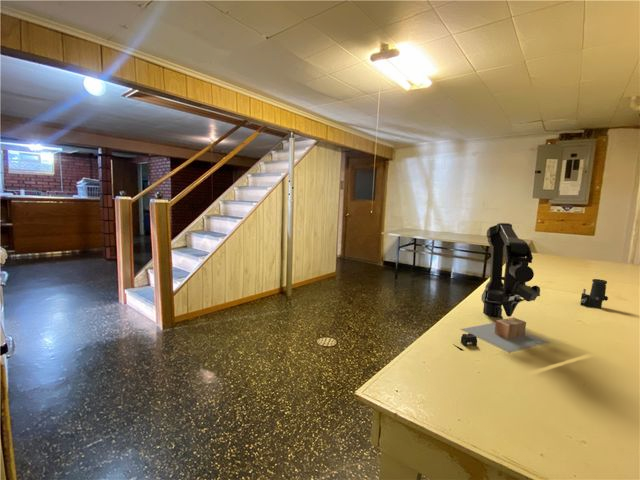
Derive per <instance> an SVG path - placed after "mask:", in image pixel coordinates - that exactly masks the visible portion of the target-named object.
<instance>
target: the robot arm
mask: <svg viewBox="0 0 640 480" xmlns="http://www.w3.org/2000/svg"><path fill="white" fill-rule="evenodd" d="M512 224H513V223H512ZM512 224H511V223H509V222H506V223H505V222H499V223H497V224H496V225H493V226H490V227H489V228H488V229H487V230H486V238H487V243H488V245H489V246H490V248H491V249H490V251H491V253H490V271H489V281H488V282H487V283H486V285H485V289H484V290H483V293H482V294H481V302H482V303H483V312H482V313H483V314H484V315H485V316H488V317H492V318H495V319H499V318H500V319H503V318H504V317H503V314H502V312H503V309H504V313H505V315H506V317H507V318H512V316H513V313H514V311H515V309H516V308H517V306H518V304H520V303H522V302H524V301H526V302H532V301H536V299H537V298H538V297H540V296H541V287H540V286H538V285H532V286H531V285H527V284H526V283H527V282H528V283H529V282H530V281H531V280H533V278H534V276H535V273H534V269H532V268H531V267H530V266H529V264H532V263H533V261H532V260H533V259H534V258H533V255H532V250H531V247H530V245H529V244H528V242H526V240H524V239H521V238H519V237H518V236H517V234H516V232H515V230H514V229H513V225H512ZM504 259H505V267H504V275H503V264H504V263H503V262H504Z"/></svg>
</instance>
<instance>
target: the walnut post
mask: <svg viewBox="0 0 640 480" xmlns="http://www.w3.org/2000/svg"><path fill="white" fill-rule="evenodd" d="M495 322H496V324H495V334H497V335H500V336H502V337H504V338H506V339H508V338H513V337H517V336H521V335H525V332H526V325H527V322H526V321H525V320H522V319H519V318H516V317H507V318H504V319H503V318H501V319H498V320H495Z"/></svg>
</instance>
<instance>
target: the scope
mask: <svg viewBox="0 0 640 480" xmlns="http://www.w3.org/2000/svg"><path fill="white" fill-rule="evenodd" d="M591 283H592V284H591V289H590V293H589V294H586V292H587V291H586V290H587V289H586V288H583V289H582V293H581V297H580V306H582V307H590V308H593V309H599V310H601V309H602V307H603V302H604V301H605V302H607V301H608V300H609V297H608V296H607V295H606V292H607V290H606V289H607V284H608V281H607V280H605V279H601V278H600V279H597V278H594V279H593V278H592V281H591Z"/></svg>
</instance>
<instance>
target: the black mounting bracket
mask: <svg viewBox="0 0 640 480" xmlns="http://www.w3.org/2000/svg"><path fill="white" fill-rule="evenodd" d="M460 338H461V339H460V344H462V345H463V346H465V347H468V344H472V346H476V347H477V346H478V337H476V336H475V335H473V334H469V333H462V336H460ZM452 345H453V346H454V347H456V348H457V349H458V350H460V351H463V352H464V351H465V349H463V348H461V347H459V346H457V345H455V344H453V343H452Z"/></svg>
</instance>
